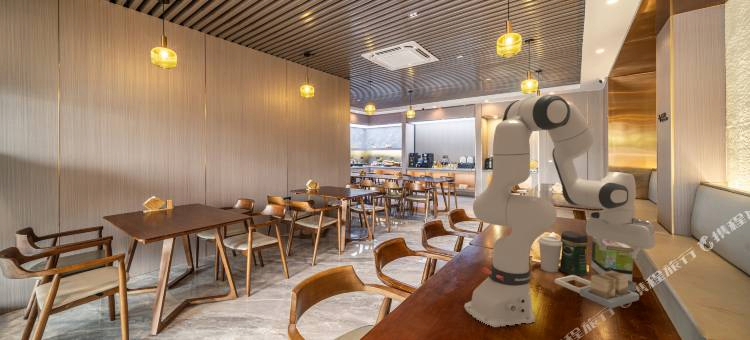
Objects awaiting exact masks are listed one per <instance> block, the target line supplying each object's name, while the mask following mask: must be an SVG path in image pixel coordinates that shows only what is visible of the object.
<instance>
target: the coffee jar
mask: <svg viewBox="0 0 750 340" xmlns="http://www.w3.org/2000/svg"><path fill="white" fill-rule="evenodd" d="M560 239H561V242H562V243H563V245H562V246H561V255H560V263H559V271H562V272H563V273H565V274H567V275H570V276H571V275H575V276H577V277H584V276H585V277H586V276H587V275H588V267H587V247H588V244H589V241H588V235H586V234H583V233H580V232H575V231H572V230H564V231H562V232H561V236H560Z"/></svg>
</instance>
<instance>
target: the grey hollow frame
mask: <svg viewBox="0 0 750 340" xmlns="http://www.w3.org/2000/svg"><path fill="white" fill-rule="evenodd" d="M579 296H581V297H583V298H586V299H587V300H590V301H592V302H595V303H597V304H599V305H602V306H604V307H606V308H608V309H614V308H617V307H621V306H623V305H626V304H630V303H633V302H637V301H639V300H640V294H639V293H637V292H635V291H634V292H632V291H629V290H628V294H625V295H622V296H620V295H617V294H615V298H611V299H608V300H607V299H604V298H602V297H599V296H597V295H594V294H592V293H591V287H590V288H586V289H582V290H580V293H579Z"/></svg>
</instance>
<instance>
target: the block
mask: <svg viewBox="0 0 750 340" xmlns="http://www.w3.org/2000/svg"><path fill="white" fill-rule="evenodd" d="M604 275H606V276H608V277H611V278H614V279H616V283H615V294H617V295H620V296H622V295H625V294H628V275H625V274H621V273H618V272H615V271H609V272H605V273H604Z"/></svg>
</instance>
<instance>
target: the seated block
mask: <svg viewBox="0 0 750 340" xmlns="http://www.w3.org/2000/svg"><path fill="white" fill-rule="evenodd" d="M590 281H591V293H592V294H594V295H597V296H599V297H602V298H604V299H607V300H608V299H611V298H615V283H616V279H614V278H611V277H608V276H606V275H603V274H599V273H597V274H593V275H591V277H590Z"/></svg>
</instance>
